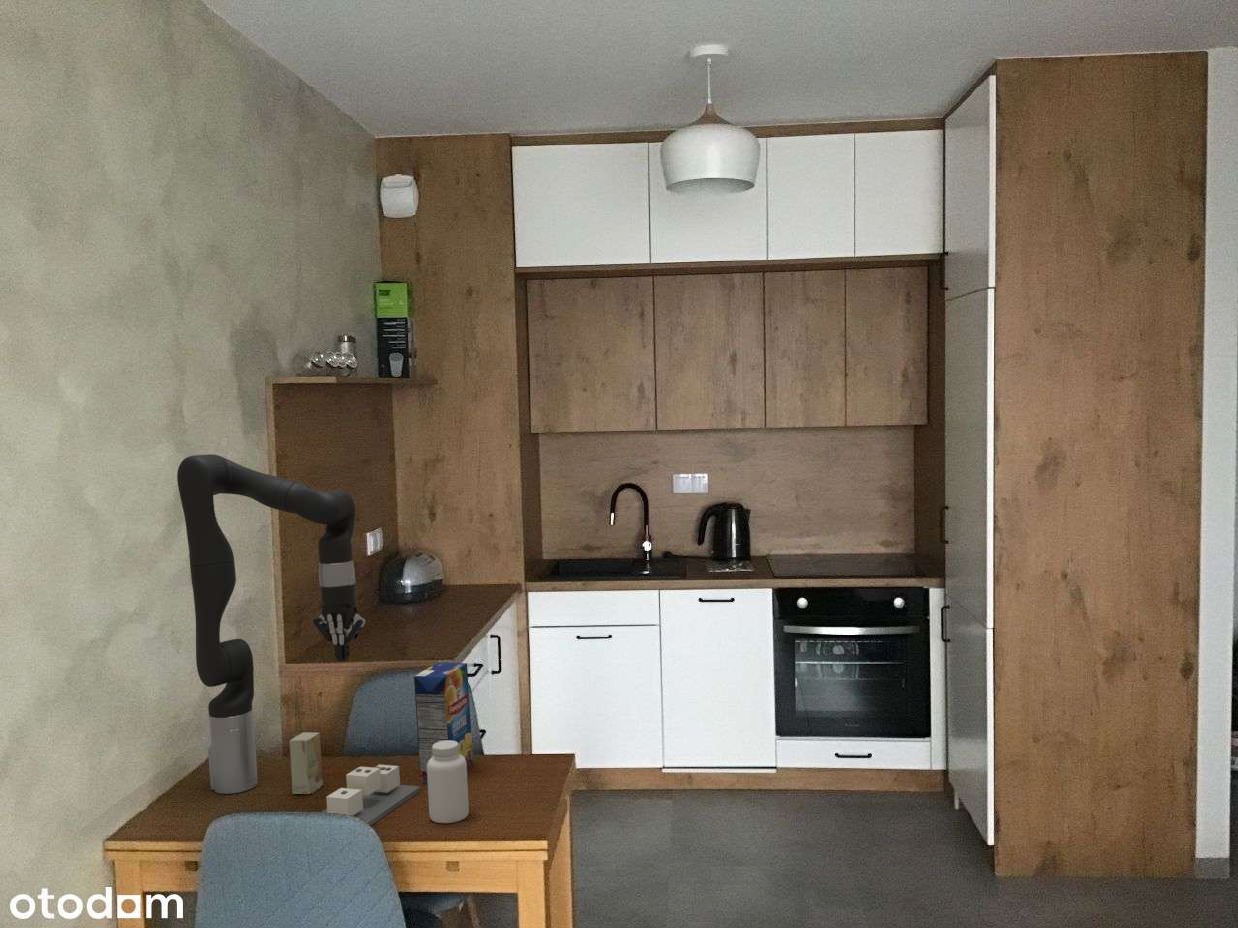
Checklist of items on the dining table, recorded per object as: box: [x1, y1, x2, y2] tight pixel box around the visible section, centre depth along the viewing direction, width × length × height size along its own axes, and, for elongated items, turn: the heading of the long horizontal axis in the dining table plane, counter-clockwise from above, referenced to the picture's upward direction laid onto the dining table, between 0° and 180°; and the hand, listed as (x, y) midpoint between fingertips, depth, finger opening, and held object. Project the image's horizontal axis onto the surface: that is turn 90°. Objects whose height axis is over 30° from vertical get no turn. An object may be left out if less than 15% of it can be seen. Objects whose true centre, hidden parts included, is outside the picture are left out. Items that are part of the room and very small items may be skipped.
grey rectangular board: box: [321, 784, 421, 826], centre depth 217 cm, size 13×22×1 cm, turn 160°
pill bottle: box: [427, 740, 470, 824], centre depth 209 cm, size 8×8×15 cm
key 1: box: [325, 787, 363, 816], centre depth 210 cm, size 5×5×4 cm
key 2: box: [345, 766, 381, 796], centre depth 216 cm, size 5×5×4 cm
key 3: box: [373, 764, 401, 793], centre depth 223 cm, size 5×5×4 cm
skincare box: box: [289, 731, 324, 795], centre depth 229 cm, size 6×4×12 cm
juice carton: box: [413, 662, 474, 784], centre depth 234 cm, size 12×8×24 cm, turn 164°
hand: (342, 660), depth 226 cm, fingers closed
